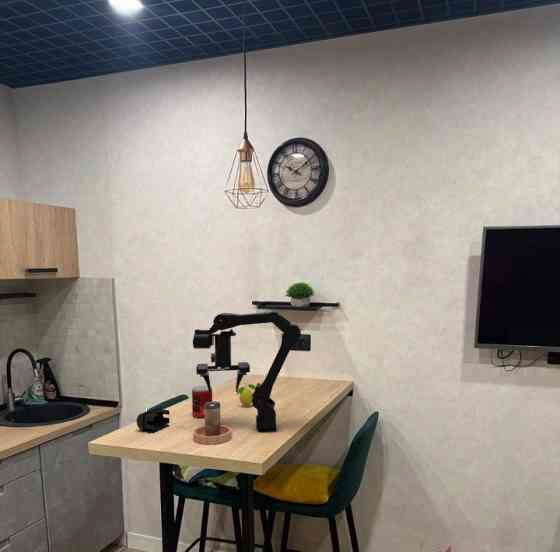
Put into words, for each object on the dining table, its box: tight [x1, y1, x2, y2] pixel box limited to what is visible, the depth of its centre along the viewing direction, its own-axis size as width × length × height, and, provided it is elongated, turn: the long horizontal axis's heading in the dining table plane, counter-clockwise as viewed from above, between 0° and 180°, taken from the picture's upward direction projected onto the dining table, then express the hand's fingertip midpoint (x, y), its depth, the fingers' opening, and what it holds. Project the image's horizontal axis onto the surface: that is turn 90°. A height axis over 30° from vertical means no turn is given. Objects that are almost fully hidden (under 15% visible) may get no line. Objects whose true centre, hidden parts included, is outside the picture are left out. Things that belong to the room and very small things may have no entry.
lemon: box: [236, 383, 256, 407], centre depth 199 cm, size 7×6×10 cm
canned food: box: [191, 384, 213, 419], centre depth 186 cm, size 8×8×11 cm
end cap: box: [135, 406, 170, 434], centre depth 171 cm, size 10×7×7 cm
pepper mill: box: [204, 401, 222, 436], centre depth 160 cm, size 5×5×11 cm
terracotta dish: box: [192, 424, 233, 446], centre depth 160 cm, size 13×13×2 cm
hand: (223, 392), depth 170 cm, fingers open, 9 cm apart
